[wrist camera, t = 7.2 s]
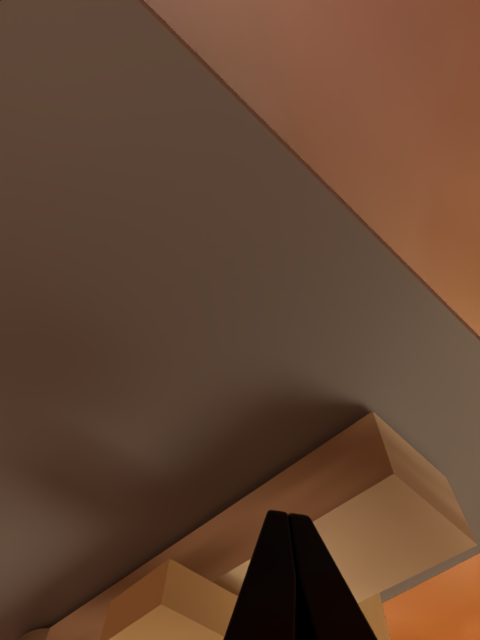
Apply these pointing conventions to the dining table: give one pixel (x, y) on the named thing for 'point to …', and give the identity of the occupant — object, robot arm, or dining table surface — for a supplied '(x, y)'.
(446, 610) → the dining table surface
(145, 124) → the keeper baseplate
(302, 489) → the birch latch bar
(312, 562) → the robot arm
